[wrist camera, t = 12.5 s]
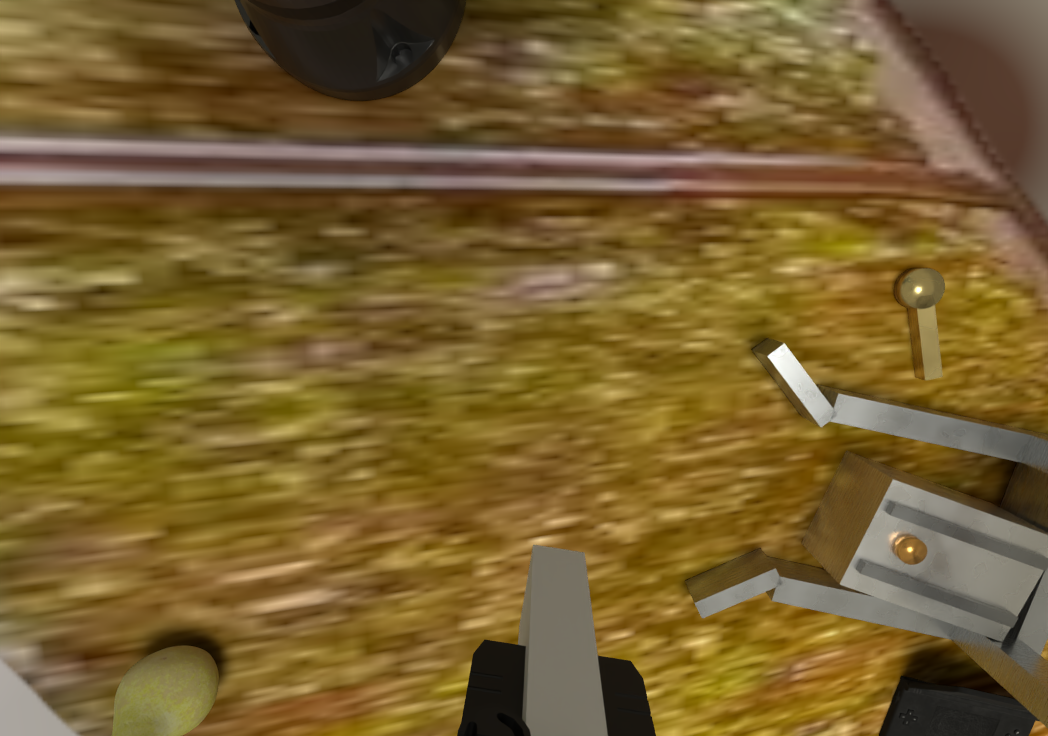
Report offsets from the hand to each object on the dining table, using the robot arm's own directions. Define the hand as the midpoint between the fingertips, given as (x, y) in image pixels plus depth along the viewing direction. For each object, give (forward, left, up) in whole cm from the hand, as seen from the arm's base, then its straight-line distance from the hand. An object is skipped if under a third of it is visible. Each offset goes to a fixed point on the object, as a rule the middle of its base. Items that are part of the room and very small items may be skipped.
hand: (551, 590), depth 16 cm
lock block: (+4, +28, -27) cm, 39 cm away
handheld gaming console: (+18, +38, -27) cm, 50 cm away
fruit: (+29, -24, -27) cm, 46 cm away
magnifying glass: (-10, +25, -27) cm, 38 cm away
